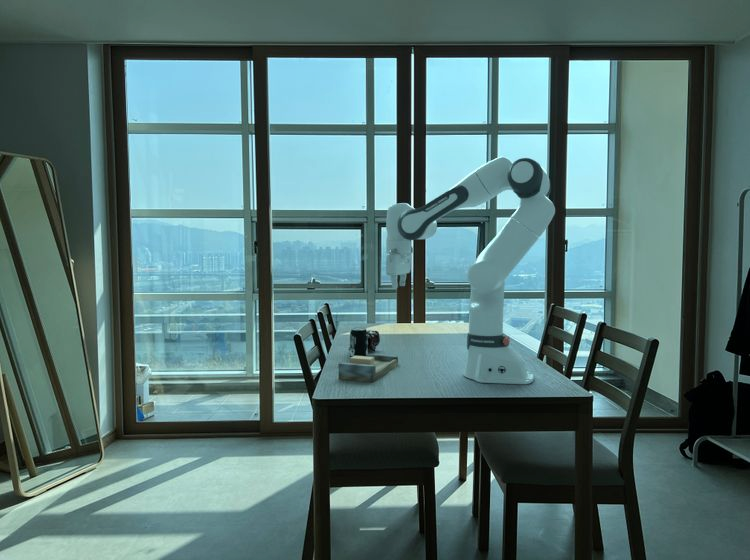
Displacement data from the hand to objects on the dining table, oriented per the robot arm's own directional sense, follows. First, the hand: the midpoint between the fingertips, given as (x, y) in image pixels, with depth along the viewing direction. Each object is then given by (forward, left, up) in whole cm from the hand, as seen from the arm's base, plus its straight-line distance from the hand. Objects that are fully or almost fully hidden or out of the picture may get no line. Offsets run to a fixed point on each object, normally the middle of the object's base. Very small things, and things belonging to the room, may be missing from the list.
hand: (398, 286), depth 188 cm
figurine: (+19, -12, -28) cm, 36 cm away
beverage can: (+16, 0, -28) cm, 32 cm away
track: (+6, +15, -28) cm, 32 cm away
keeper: (+6, +22, -27) cm, 35 cm away
